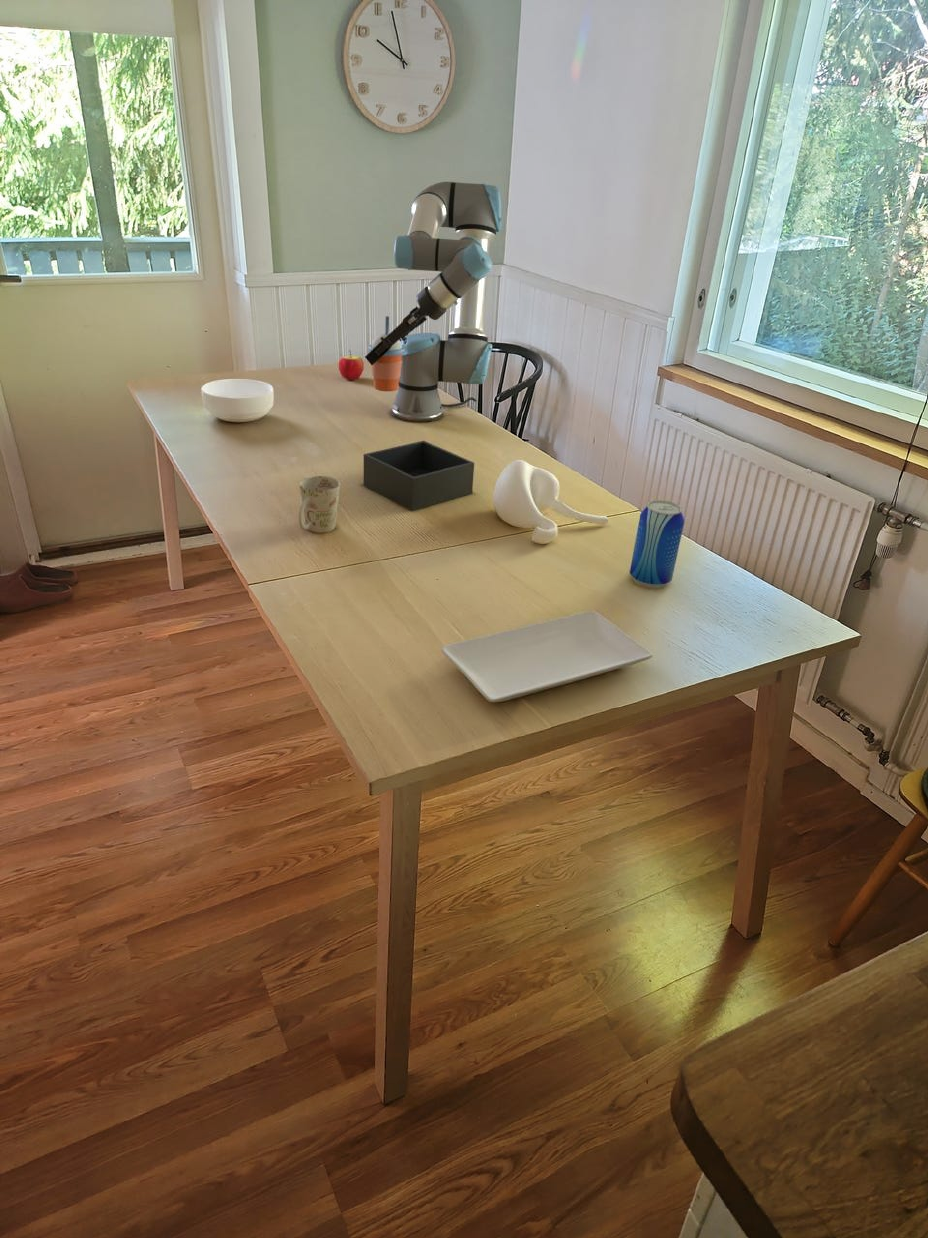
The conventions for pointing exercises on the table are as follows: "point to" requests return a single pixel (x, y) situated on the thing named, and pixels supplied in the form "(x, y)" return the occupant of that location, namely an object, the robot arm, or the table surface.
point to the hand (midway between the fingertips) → (374, 356)
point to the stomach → (533, 501)
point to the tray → (544, 655)
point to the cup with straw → (387, 364)
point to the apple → (351, 367)
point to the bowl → (238, 399)
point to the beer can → (657, 544)
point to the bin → (418, 474)
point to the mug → (319, 503)
